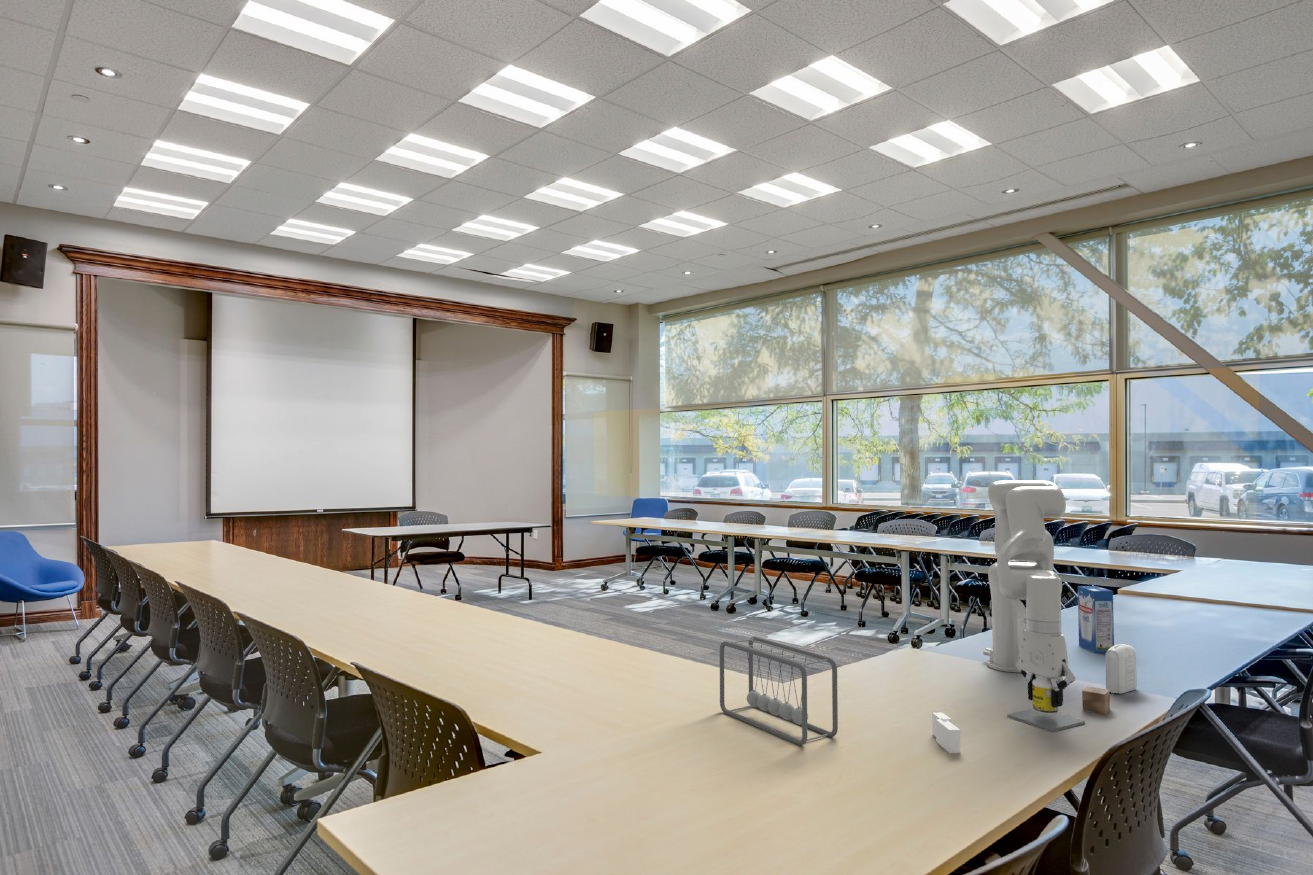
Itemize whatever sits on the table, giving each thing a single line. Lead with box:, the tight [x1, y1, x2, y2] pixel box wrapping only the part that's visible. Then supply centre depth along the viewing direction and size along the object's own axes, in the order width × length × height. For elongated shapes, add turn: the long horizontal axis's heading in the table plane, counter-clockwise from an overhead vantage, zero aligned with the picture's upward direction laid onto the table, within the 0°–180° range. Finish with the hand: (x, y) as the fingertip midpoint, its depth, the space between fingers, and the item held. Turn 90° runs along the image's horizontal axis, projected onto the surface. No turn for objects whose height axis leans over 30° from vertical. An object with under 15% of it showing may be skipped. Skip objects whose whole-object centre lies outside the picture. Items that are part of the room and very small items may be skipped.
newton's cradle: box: [719, 636, 839, 746], centre depth 183 cm, size 30×10×18 cm, turn 33°
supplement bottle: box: [1032, 674, 1059, 715], centre depth 186 cm, size 5×5×10 cm
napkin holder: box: [931, 712, 961, 754], centre depth 171 cm, size 15×11×6 cm
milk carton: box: [1077, 585, 1115, 654], centre depth 256 cm, size 10×6×20 cm, turn 179°
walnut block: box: [1081, 685, 1111, 716], centre depth 193 cm, size 5×5×5 cm
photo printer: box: [1105, 643, 1138, 695], centre depth 210 cm, size 10×4×12 cm, turn 123°
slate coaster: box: [1006, 708, 1086, 733], centre depth 185 cm, size 12×12×1 cm
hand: (1045, 701), depth 186 cm, fingers closed on supplement bottle, 5 cm apart
